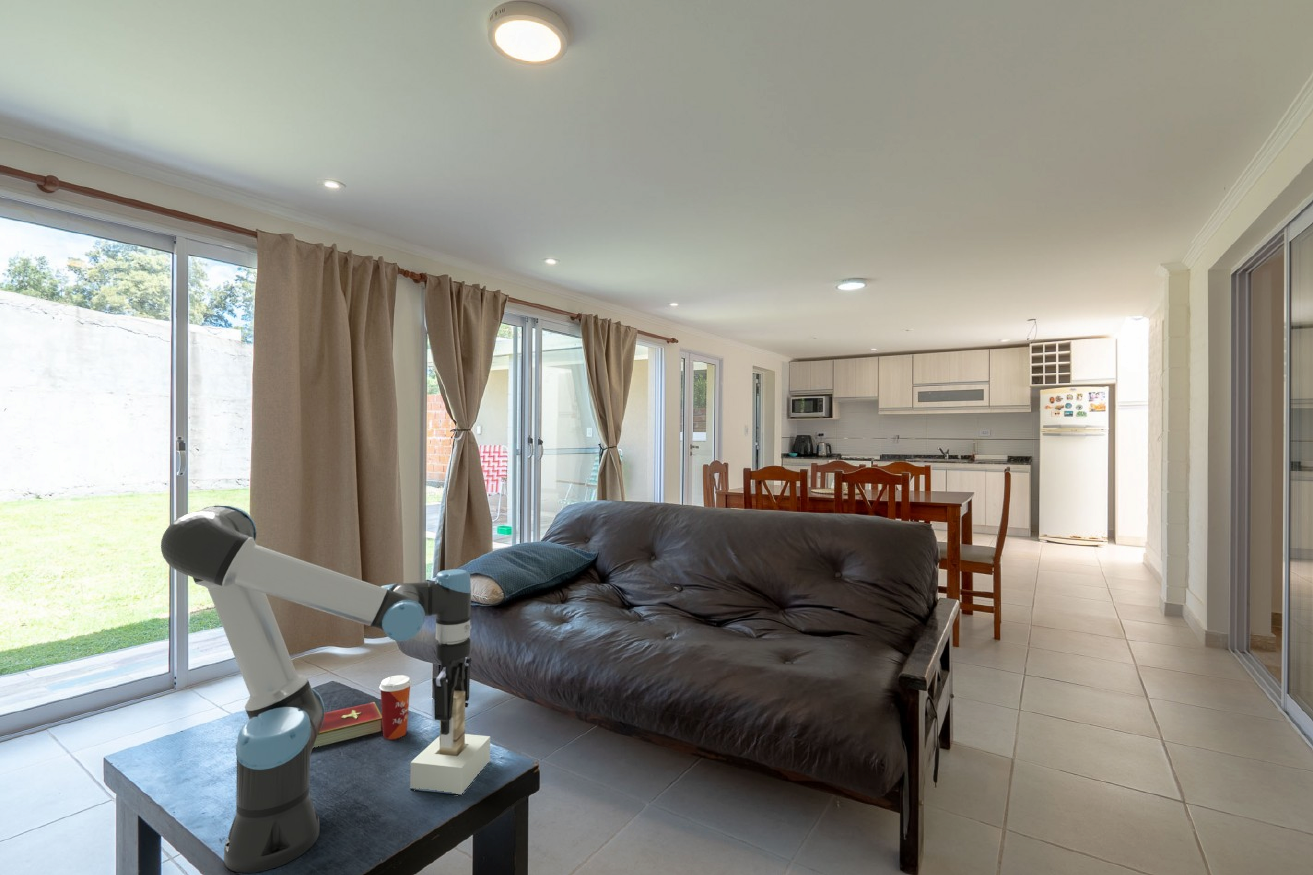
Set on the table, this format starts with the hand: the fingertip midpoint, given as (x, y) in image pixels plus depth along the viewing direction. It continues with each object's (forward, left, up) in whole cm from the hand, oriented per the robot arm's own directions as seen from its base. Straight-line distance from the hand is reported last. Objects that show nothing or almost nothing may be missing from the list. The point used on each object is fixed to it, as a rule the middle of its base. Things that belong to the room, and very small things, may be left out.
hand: (452, 741), depth 137 cm
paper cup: (+15, +24, -8) cm, 29 cm away
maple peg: (0, 0, -3) cm, 3 cm away
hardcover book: (+13, +40, -8) cm, 43 cm away
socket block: (0, 0, -8) cm, 8 cm away
